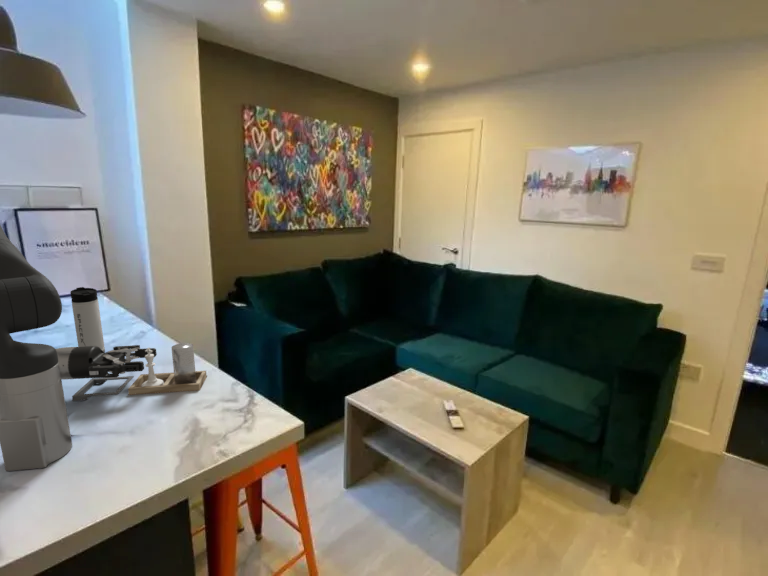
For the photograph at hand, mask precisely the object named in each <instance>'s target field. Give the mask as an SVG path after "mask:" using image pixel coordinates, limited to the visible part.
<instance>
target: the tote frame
mask: <svg viewBox="0 0 768 576" xmlns="http://www.w3.org/2000/svg"><path fill="white" fill-rule="evenodd" d="M133 378H134V375H132V376H131V375H129V376H128V375H127V376H118V377H112V378H90V379H89V380H88V382H87V383H85V384H84V385H83V386H81V387H80V389H78V390H77V391H76V392H75V393H74V394H73V395H72V396H71V399H72V402H79V401H80V402H81V401H87V400H88V399H89V398H91V397H97V396H111V395H113V396H114V395H119V394H120V393H121V392H122V390H123V389H125V387H126V386H127V385H128V384H129V382H130V381H132V380H133ZM108 380H109V381H110V380H125V381H124V382H123V383H122V384H121V386H120V387H118V389H117V390H116V391H112V392H111V391H110V392H96V393H94V392H93V393H87V392H88V391H89V390H90V389H91V388H93V386H94V385H101V384H105V383H106V382H107V381H108Z"/></svg>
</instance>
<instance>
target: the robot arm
mask: <svg viewBox="0 0 768 576" xmlns="http://www.w3.org/2000/svg"><path fill="white" fill-rule="evenodd" d="M62 304H63V303H62V299H61V296H60V294H59V292H58V290H57V288H56V287H55V285H54V284H53V283H52V281H51V280H50V279H49V278H48V277H47V276H45V275H44V274H43V273H42V272H40V271H38V270H37V269H36V268H35V267H33V266H32V265H31V264H30V262H29V261H28V260H27V259H26V258H25V256H24V254H23V253H22V252H21V251H20V250H19V249H18V247H16V245H15V244H13V242H11V240H10V239H9V238H8V237H7V235H6V233H5V230H4V229H3V228H2V226H1V224H0V450H1V454H2V460H3V463H4V470H5V472H12V471H22V470H31V469H43V468H46V467H48V466H49V464H51V463H54V462H56V461H58V460H59V459H60V458H62V457H64V456H65V455H66V454H68V453H69V452H70V451H71V449H72V448H73V441H72V435H71V428H70V424H69V423H70V422H69V418H68V410H67V407H66V406H67V404H66V399H65V394H64V388H63V382H62V381H64V380H77V379H78V380H79V379H81V380H82V379H92V378H112V377H120V375H123V374H125V373H130V372H131V373H132V372H143V370H145V365H144V364H145V363H144V361H141V360H139V361H137V360H136V361H132V360H135V359H145V355H147V354H148V352H145V350H147V348H148V347H147V348H141V346H140V344H133V345H121V346H120V345H119V346H118V345H117V346H116V345H115V346H113V347H112V349H111V350H108V351H105V352H103V351H102V350H101V348H100V347H98V346H83V347H78V346H66V347H65V346H64V347H59V348H55V347H54V346H52V345H50V344H46V343H32V342H24V341H17V340H15V339H13V337H12V335H11V334H15V333H21V332H24V331H25V332H26V331H31V330H32V331H33V330H37V329H41V328H46V327H49V326H51V325H54V324H55V323H57V321H59V319H60V317H61V316H62V311H63V305H62ZM149 348H150V350H153V352H152V353H151V354H154V358H155V357H156V356H157V355H158V353H157V349H156V348H155V347H149Z"/></svg>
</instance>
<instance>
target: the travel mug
mask: <svg viewBox="0 0 768 576" xmlns="http://www.w3.org/2000/svg"><path fill="white" fill-rule="evenodd" d="M69 294H70V298H71V305H72V306H71V309H72V313H73V320H74V326H75V333H76V340H77V341H76V342H77V347H83V346H98V347H100V348H101V350H102V351H103V352H105V353H106V349H105V348H106V347H105V341H104V334H103V327H102V320H101V311H100V305H99V298H98V292H97V289H96V288H92V287H84V286H81V287H76V288H74V289H72V290H70V293H69Z"/></svg>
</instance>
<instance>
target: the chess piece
mask: <svg viewBox="0 0 768 576" xmlns="http://www.w3.org/2000/svg"><path fill="white" fill-rule="evenodd" d="M150 348H151V347H147V350H145V352H148V354H147V355H145V358H144V359H145V360H146V362H147V363H146V364H145V367H146V368H148V373H147V374H148V380H147V381H145V382H144V383H143V384H142V385H141V386H142V387H143V386H159V385H163V384H164V381H163V380H161V379H157V378H156V376H155V374H156V373H155V369H154V366H156V363H155V362H154V358H155V357H154V354H151V353H152V352H153V350H150Z"/></svg>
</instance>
